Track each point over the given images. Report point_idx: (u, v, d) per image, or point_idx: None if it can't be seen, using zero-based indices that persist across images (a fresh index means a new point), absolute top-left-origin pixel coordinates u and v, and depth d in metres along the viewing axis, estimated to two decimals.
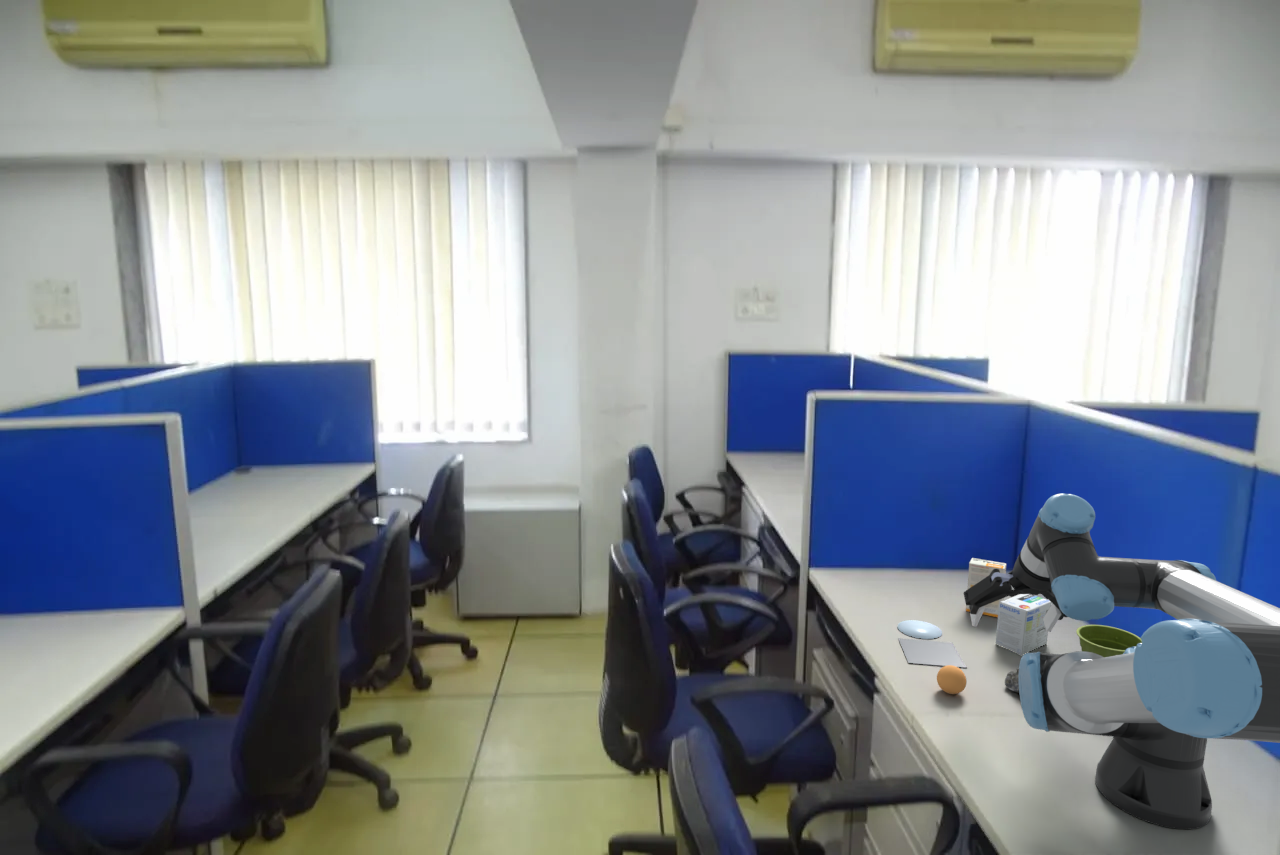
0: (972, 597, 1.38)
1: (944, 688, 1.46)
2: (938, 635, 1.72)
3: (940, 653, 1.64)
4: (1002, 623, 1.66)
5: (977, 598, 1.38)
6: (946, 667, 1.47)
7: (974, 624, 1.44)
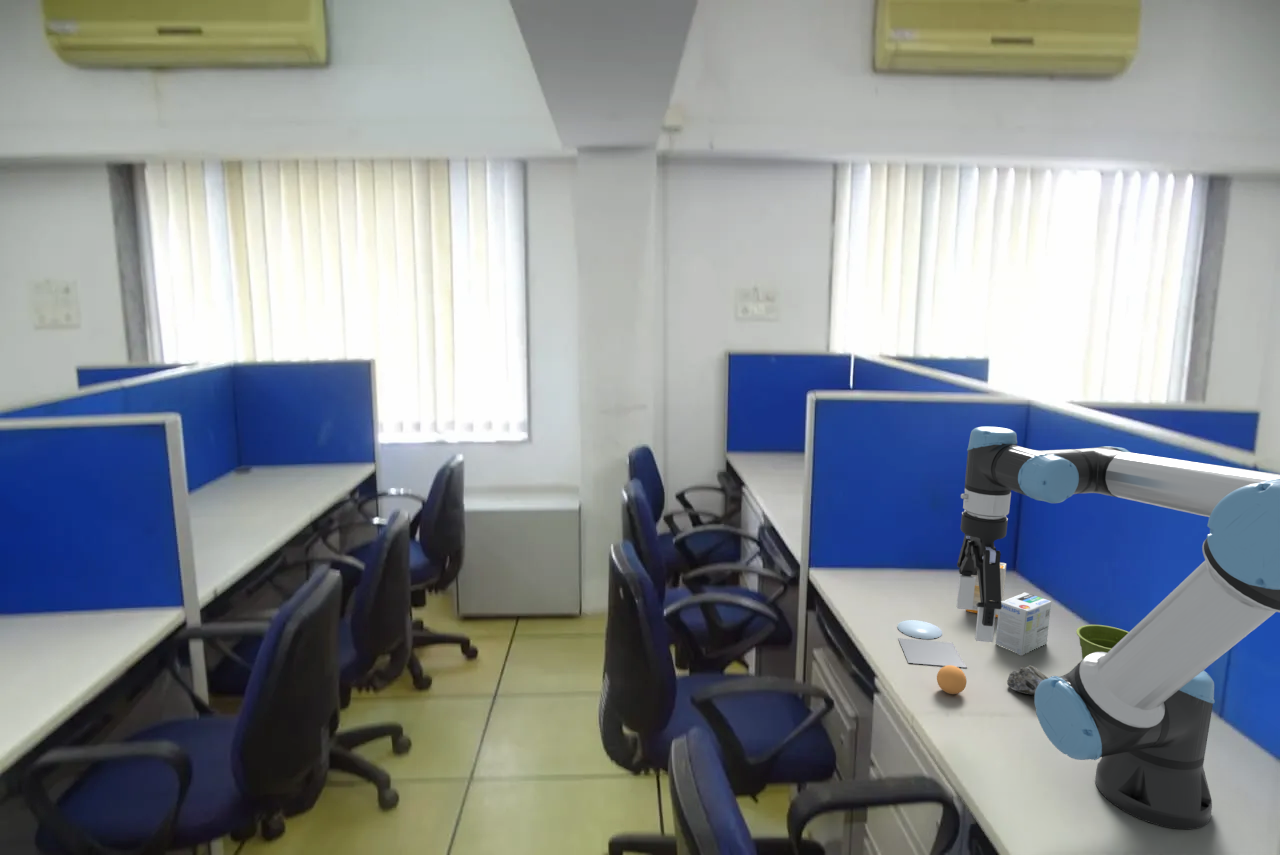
0: (999, 595, 1.24)
1: (944, 688, 1.46)
2: (938, 635, 1.72)
3: (940, 653, 1.64)
4: (1002, 623, 1.66)
5: None
6: (946, 667, 1.47)
7: None
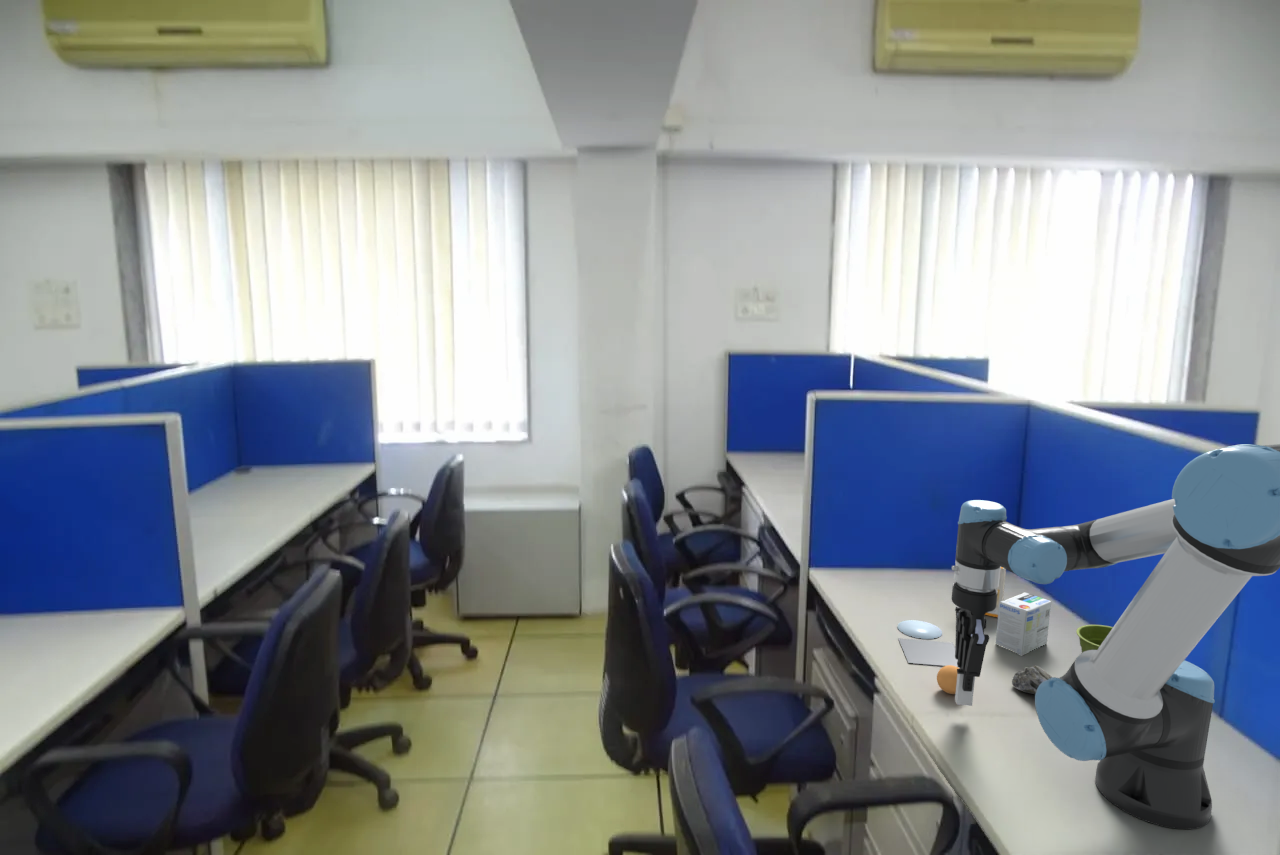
0: (979, 668, 1.32)
1: (944, 688, 1.46)
2: (938, 635, 1.72)
3: (940, 653, 1.64)
4: (1002, 623, 1.66)
5: None
6: (946, 667, 1.47)
7: None
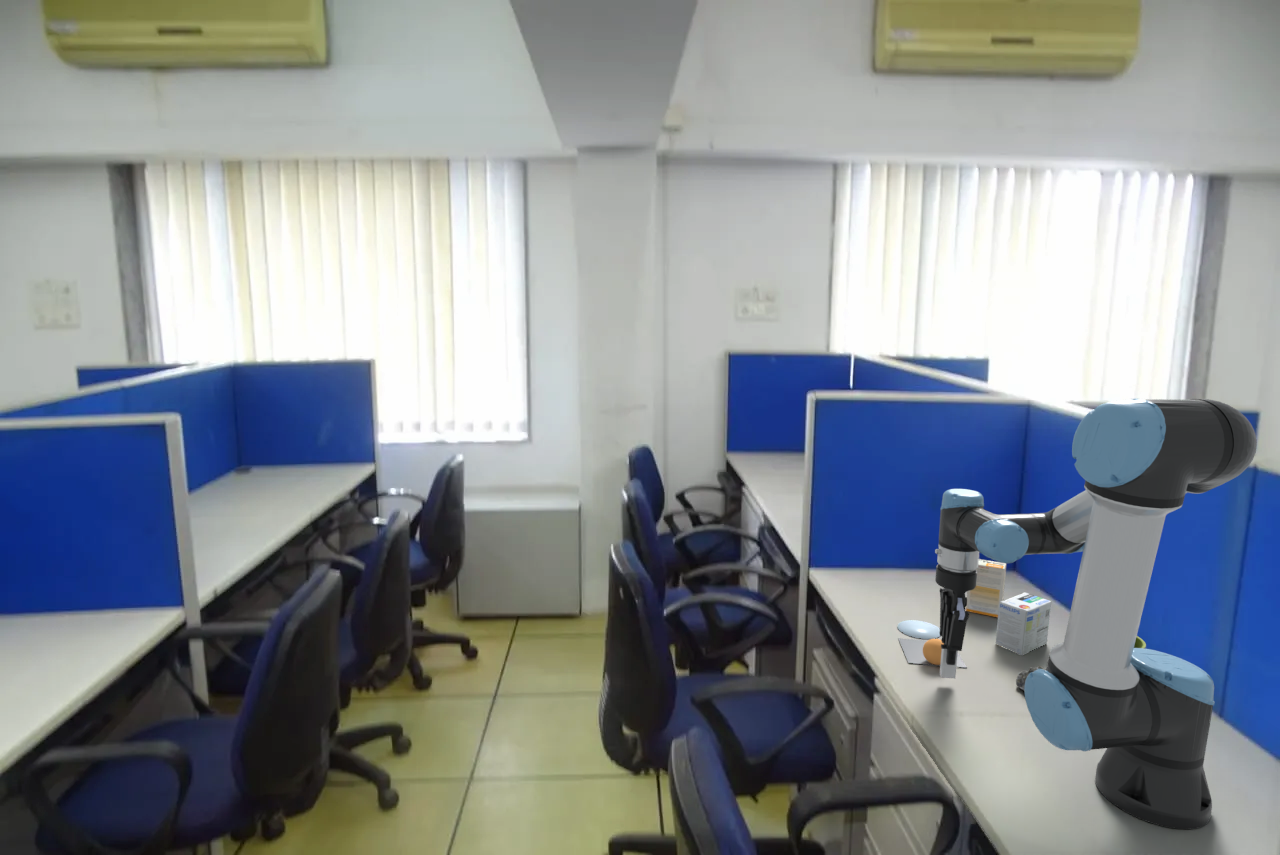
0: (961, 642, 1.44)
1: None
2: (938, 635, 1.72)
3: None
4: (1002, 623, 1.66)
5: None
6: (933, 660, 1.57)
7: None
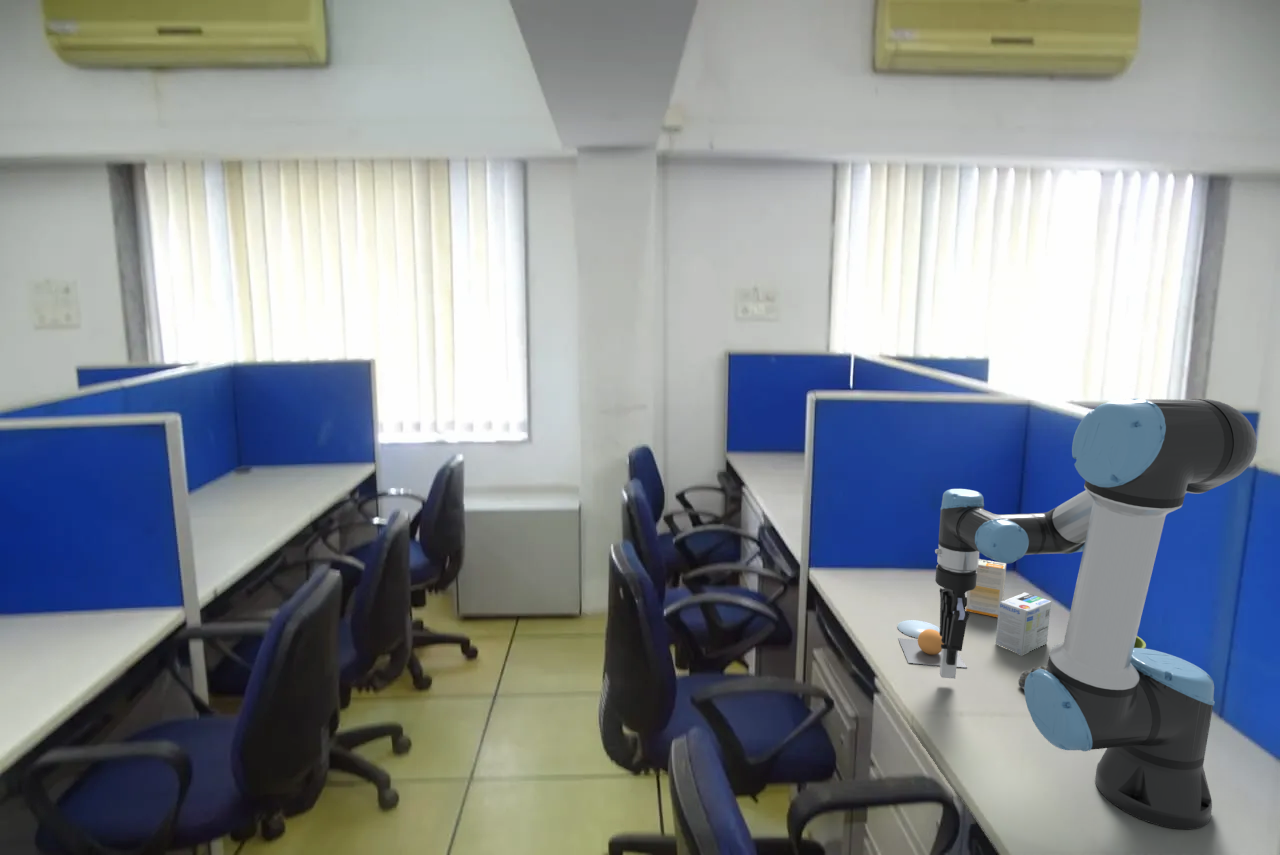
0: (961, 642, 1.44)
1: (923, 650, 1.63)
2: None
3: (940, 653, 1.64)
4: (1002, 623, 1.66)
5: None
6: (927, 632, 1.63)
7: None
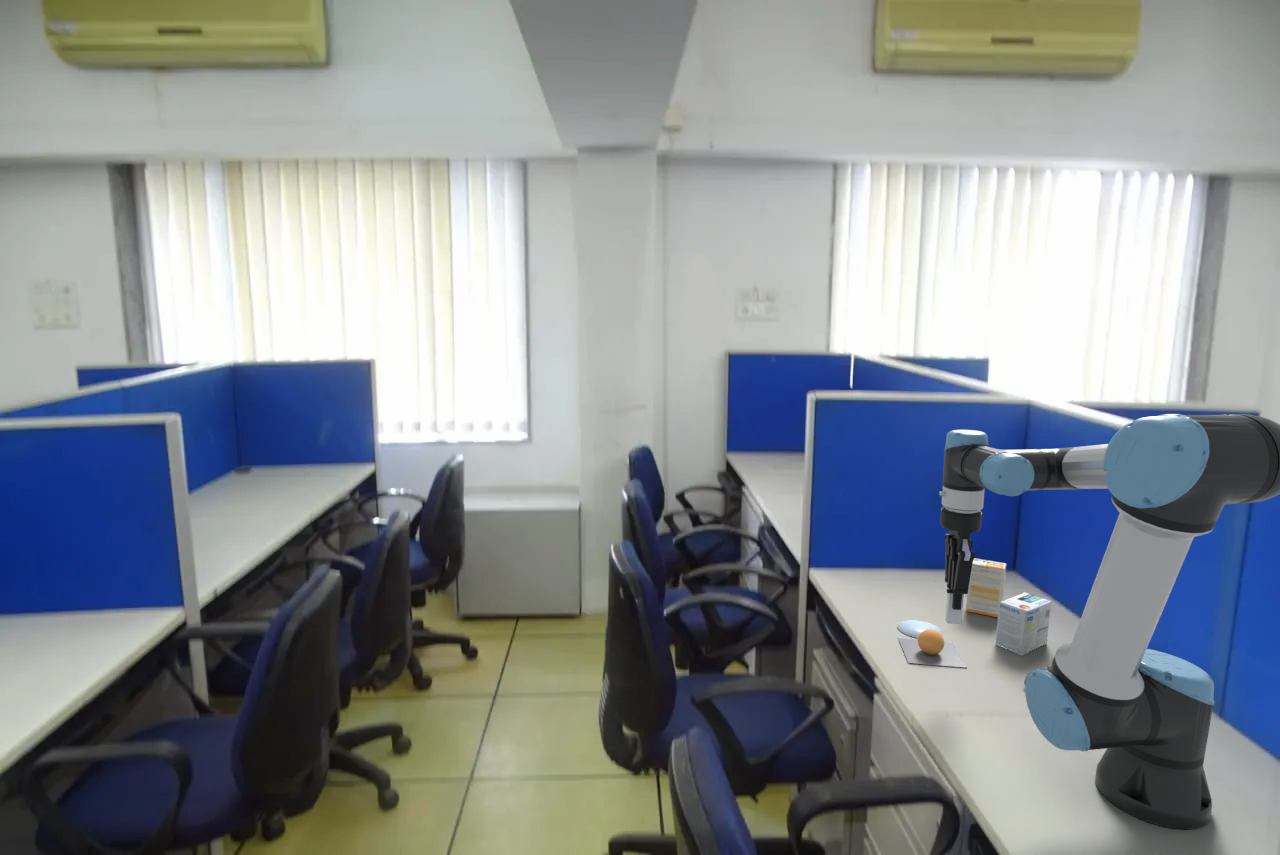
0: (967, 585, 1.42)
1: (923, 650, 1.63)
2: None
3: (940, 653, 1.64)
4: (1002, 623, 1.66)
5: None
6: (927, 632, 1.63)
7: None
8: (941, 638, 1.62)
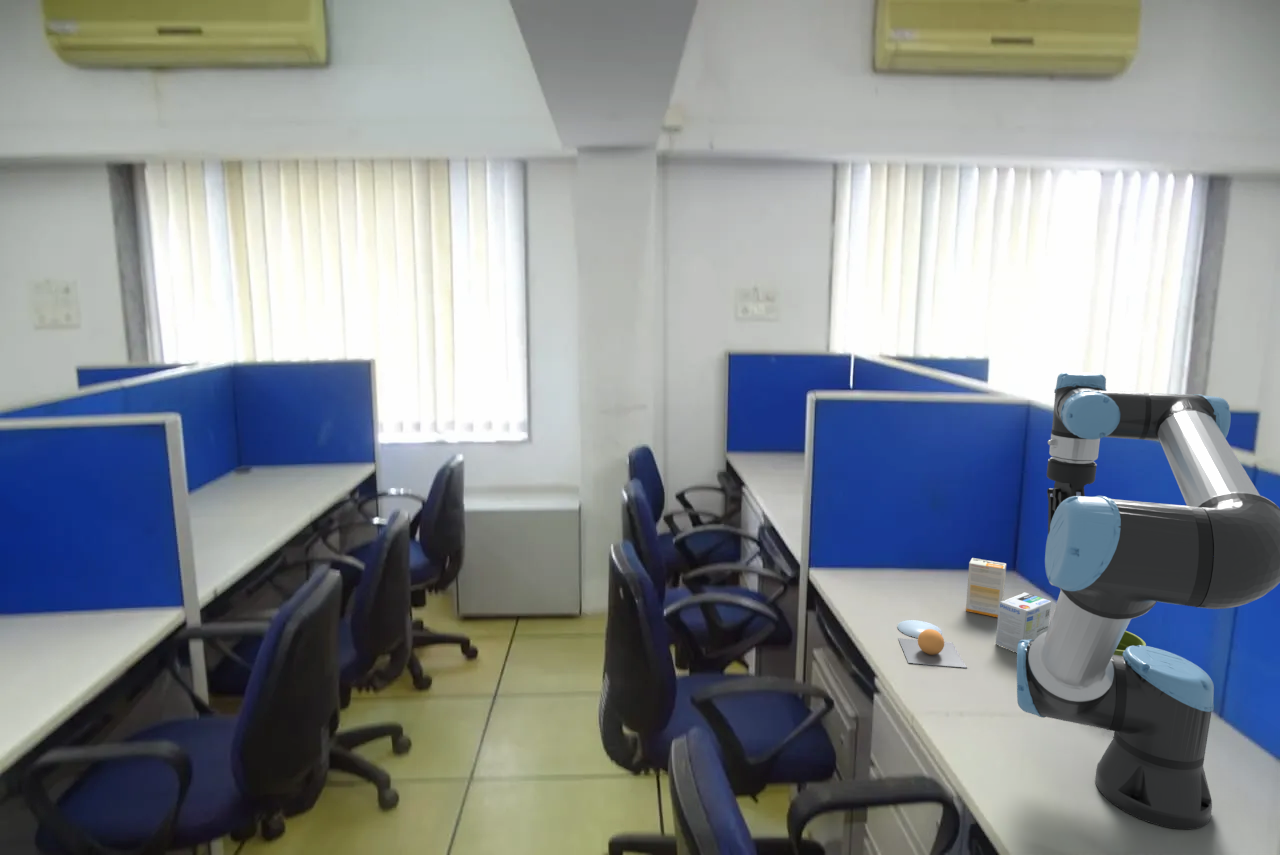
0: None
1: (923, 650, 1.63)
2: None
3: (940, 653, 1.64)
4: (1002, 623, 1.66)
5: None
6: (927, 632, 1.63)
7: None
8: (941, 638, 1.62)
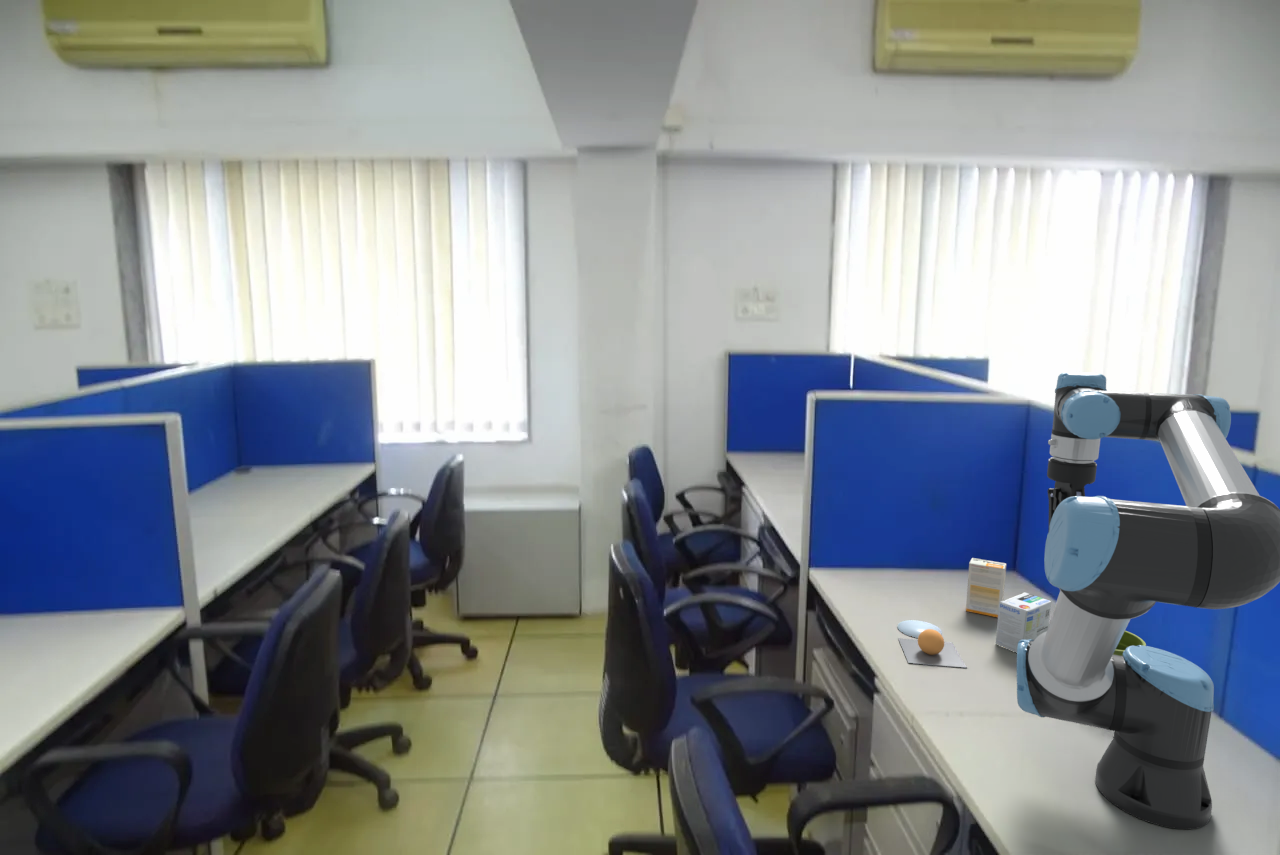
0: None
1: (923, 650, 1.63)
2: None
3: (940, 653, 1.64)
4: (1002, 623, 1.66)
5: None
6: (927, 632, 1.63)
7: None
8: (941, 638, 1.62)
